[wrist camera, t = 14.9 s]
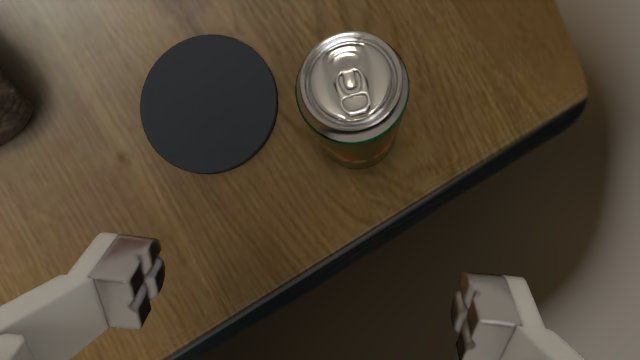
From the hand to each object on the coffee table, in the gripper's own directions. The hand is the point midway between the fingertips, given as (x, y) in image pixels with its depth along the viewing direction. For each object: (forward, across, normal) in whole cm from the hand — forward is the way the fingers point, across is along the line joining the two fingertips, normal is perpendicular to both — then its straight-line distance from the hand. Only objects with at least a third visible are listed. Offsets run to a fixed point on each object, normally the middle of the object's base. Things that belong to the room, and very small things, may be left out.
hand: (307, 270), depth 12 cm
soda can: (+19, -2, +6) cm, 20 cm away
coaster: (+20, +9, +5) cm, 23 cm away
